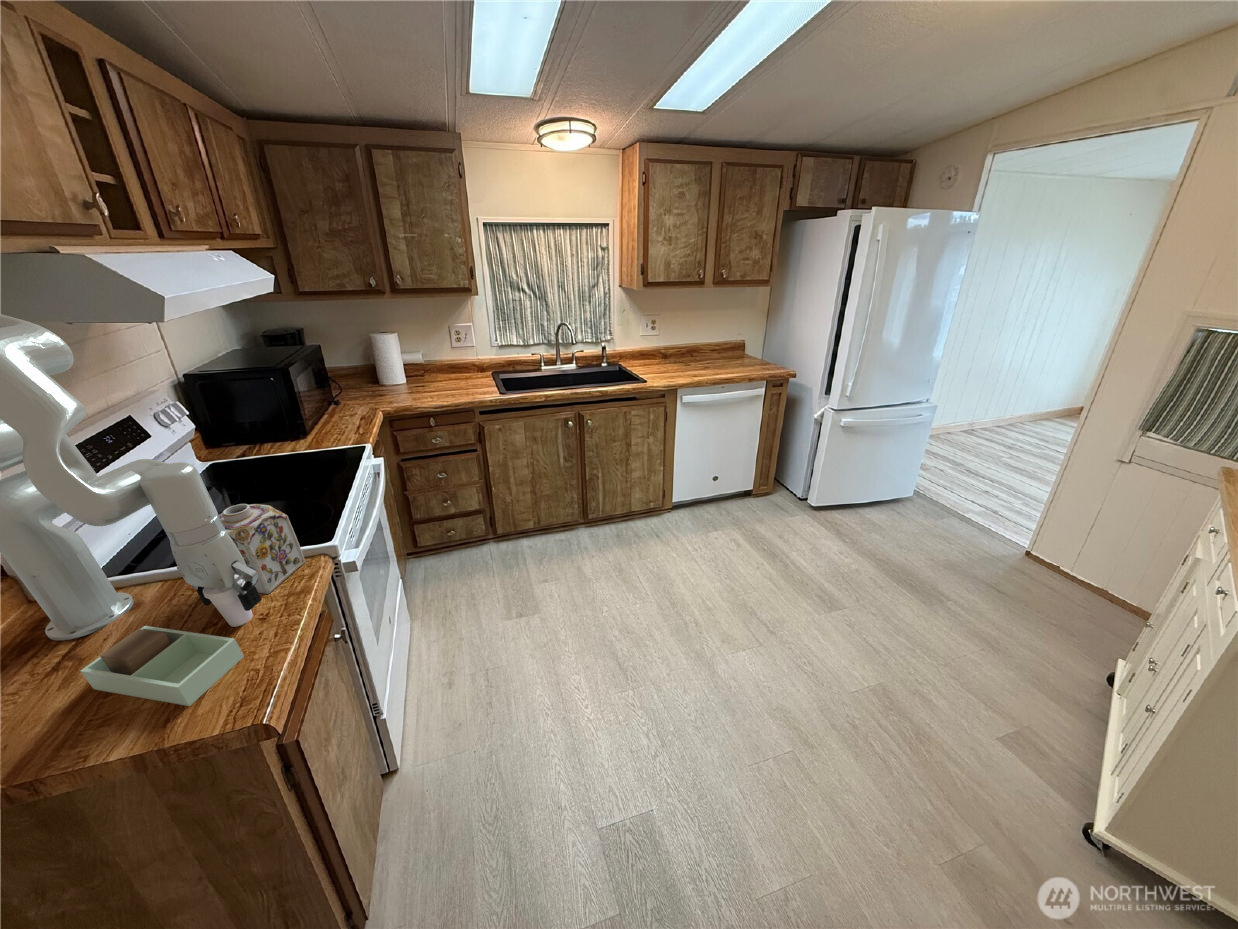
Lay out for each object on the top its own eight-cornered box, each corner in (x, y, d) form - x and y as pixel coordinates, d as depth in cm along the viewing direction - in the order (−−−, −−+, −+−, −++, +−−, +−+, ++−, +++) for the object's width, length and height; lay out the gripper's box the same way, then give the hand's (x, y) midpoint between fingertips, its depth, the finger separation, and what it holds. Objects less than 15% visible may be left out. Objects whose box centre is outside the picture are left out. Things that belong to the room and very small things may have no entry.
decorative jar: (220, 592, 104) (185, 522, 96) (263, 559, 114) (234, 493, 106) (270, 595, 102) (238, 525, 94) (308, 562, 112) (282, 496, 105)
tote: (95, 691, 81) (80, 670, 79) (157, 645, 90) (144, 625, 88) (191, 708, 78) (177, 687, 76) (245, 658, 87) (234, 638, 85)
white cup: (268, 609, 98) (243, 554, 92) (247, 633, 93) (219, 576, 86) (236, 610, 98) (209, 555, 92) (214, 634, 92) (183, 577, 86)
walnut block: (117, 680, 83) (99, 655, 80) (153, 653, 88) (137, 629, 85) (145, 685, 82) (128, 660, 79) (179, 657, 87) (165, 633, 84)
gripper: (135, 537, 84) (178, 612, 91) (217, 546, 81) (254, 622, 88) (177, 515, 90) (214, 586, 98) (254, 521, 87) (286, 594, 95)
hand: (233, 603), depth 93 cm, fingers open, 8 cm apart
